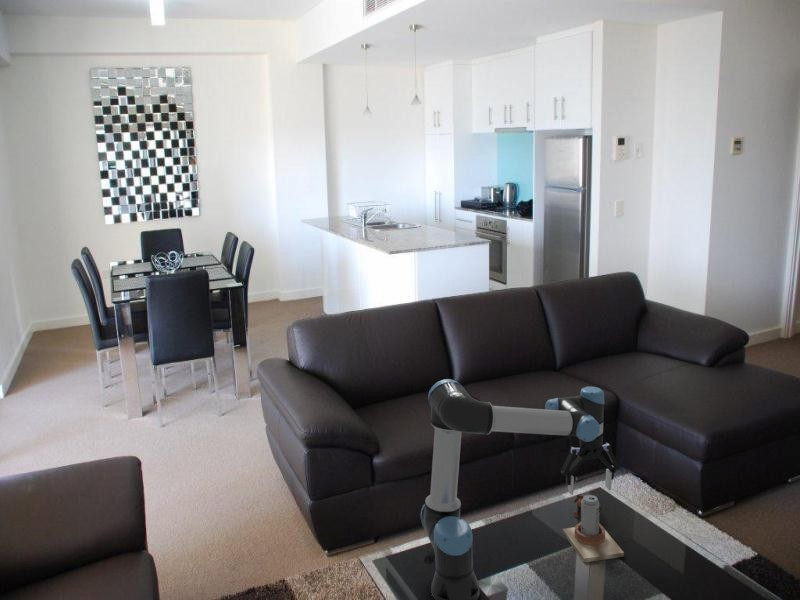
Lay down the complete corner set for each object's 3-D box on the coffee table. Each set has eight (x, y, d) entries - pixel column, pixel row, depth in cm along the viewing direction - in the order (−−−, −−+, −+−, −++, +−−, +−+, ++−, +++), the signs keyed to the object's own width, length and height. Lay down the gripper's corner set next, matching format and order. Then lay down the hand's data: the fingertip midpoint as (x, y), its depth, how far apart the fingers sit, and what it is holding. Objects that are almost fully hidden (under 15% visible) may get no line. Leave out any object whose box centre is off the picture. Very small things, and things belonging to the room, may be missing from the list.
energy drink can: (581, 531, 242) (582, 492, 239) (599, 533, 240) (600, 495, 237) (579, 540, 237) (580, 501, 233) (597, 543, 235) (598, 503, 231)
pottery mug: (566, 515, 256) (569, 493, 258) (583, 518, 261) (586, 496, 263) (591, 521, 246) (594, 497, 248) (609, 524, 251) (611, 501, 253)
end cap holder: (584, 562, 227) (584, 550, 226) (562, 532, 245) (562, 521, 244) (623, 556, 229) (624, 544, 228) (599, 527, 247) (600, 516, 246)
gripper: (560, 441, 224) (558, 500, 229) (631, 433, 228) (629, 491, 233) (551, 431, 231) (550, 489, 236) (621, 424, 235) (618, 481, 240)
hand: (589, 490), depth 234 cm, fingers open, 13 cm apart
